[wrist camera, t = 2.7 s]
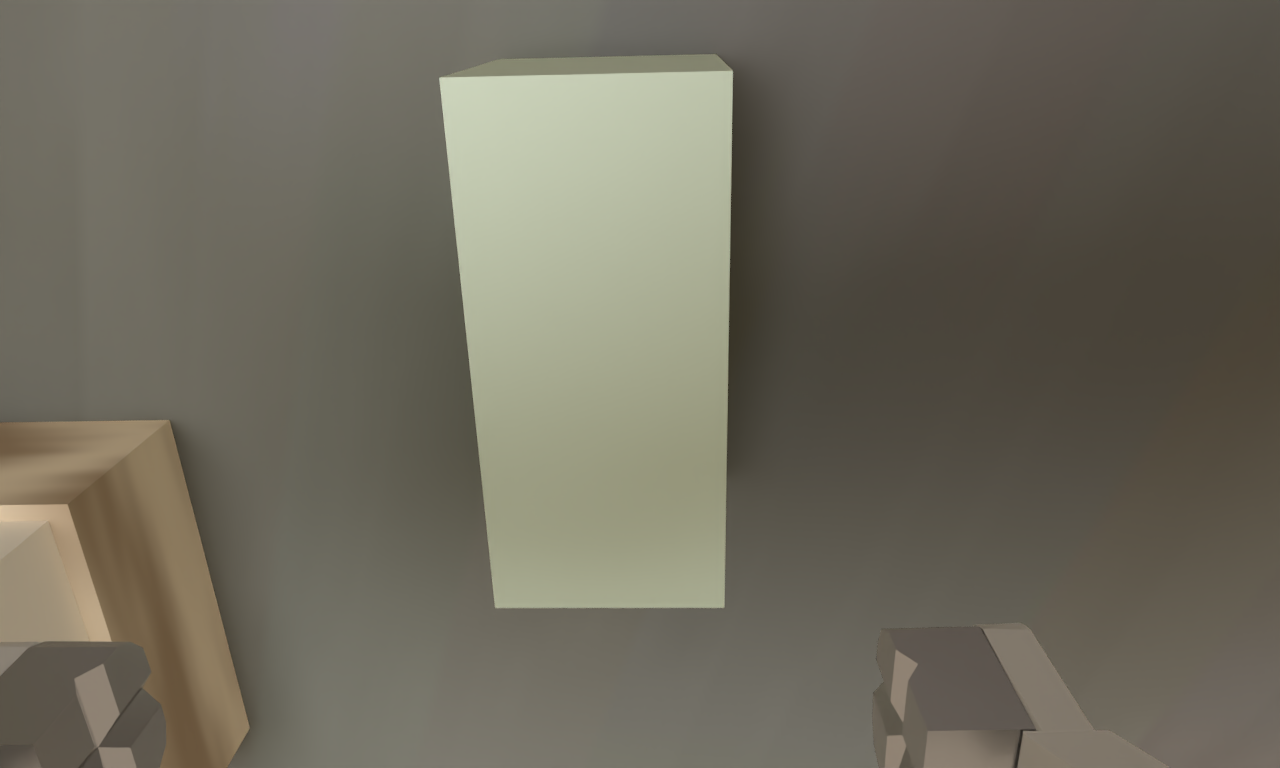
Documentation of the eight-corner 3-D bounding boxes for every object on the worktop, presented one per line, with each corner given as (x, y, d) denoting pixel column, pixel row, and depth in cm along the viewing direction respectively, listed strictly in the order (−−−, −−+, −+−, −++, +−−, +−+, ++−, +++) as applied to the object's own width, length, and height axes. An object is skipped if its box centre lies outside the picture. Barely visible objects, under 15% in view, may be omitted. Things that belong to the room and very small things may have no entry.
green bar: (715, 53, 21) (733, 70, 15) (712, 474, 25) (724, 607, 19) (500, 58, 21) (439, 77, 15) (533, 475, 25) (495, 608, 20)
